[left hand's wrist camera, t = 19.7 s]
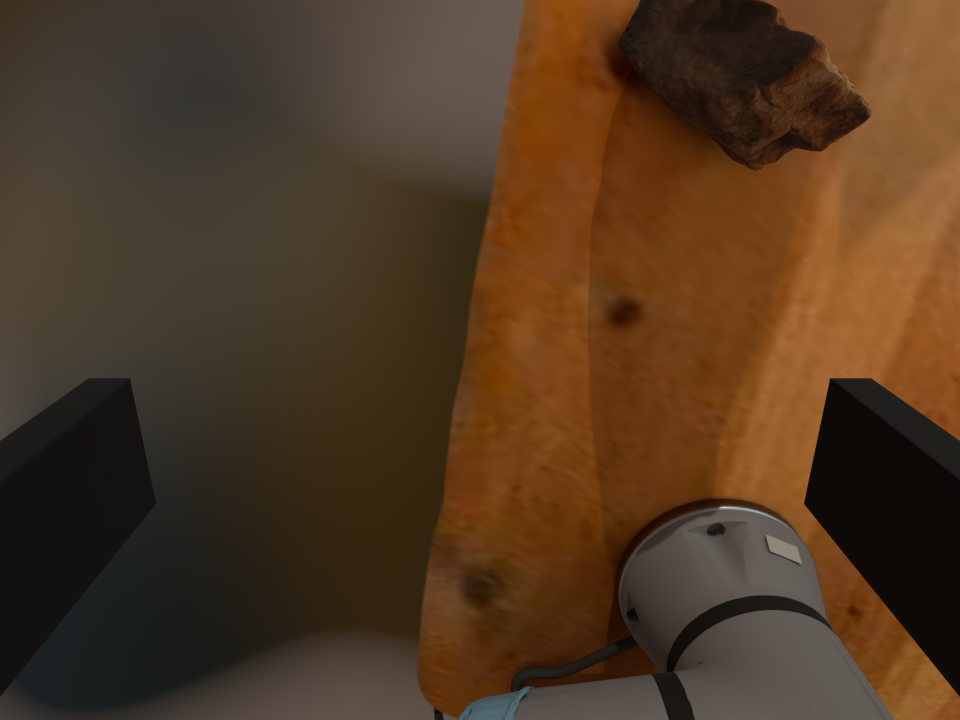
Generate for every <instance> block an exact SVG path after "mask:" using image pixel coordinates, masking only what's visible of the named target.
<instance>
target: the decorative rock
mask: <svg viewBox="0 0 960 720" xmlns="http://www.w3.org/2000/svg"><path fill="white" fill-rule="evenodd" d="M619 47H620V49H621V50H622V51H623V52H624V54H625V56H626V58H627V60H628V61H629V63H630V65H631V66H632V67H633V69H634V70H635V71H636V72H637V73H638V74H639V76H640V77H641V78H642V79H643V80H644V81H645V82H646V84H647V86H648V87H649V88H650V89H651V90H652V91H653V92H654V93H655V94H657V95H659V96H661V97H662V99H663V100H664V102H665V103H666V104H667V105H668V106H669V107H670V108H671V109H672V110H674V111H675V112H676V113H677V114H678V115H679V116H680V117H682V118H683V119H685V120H686V121H688V122H689V123H691V124H692V125H694V126H695V127H696V128H698V129H699V130H700V131H702V132H704V133H706V134H708V135H709V136H711V137H712V138H713V139H714V140H715V141H716V142H717V143H718V144H719V145H720V146H721V148H722V149H723V150H724V151H725V153H726V154H727V155H728V156H730V157H731V158H732V159H733V160H734V161H736V162H738V163H740V164H745V165H746V166H747V167H749V168H751V169H753V170H756V171H757V170H760V169H762V167H763V166H764V165H766V164H770V163H773V162H776V161H777V160H779V159H780V158H781V157H782V156H783V155H784V154H786V153H787V152H789V151H791V150H792V149H794V148H801V149H805V150H810V151H822V150H824V149H826V148H828V146H829V145H830V144H831V143H834V142H836V141H837V140H839V139H840V138H841V137H843V136H844V135H846V134H848V133H849V132H851V131H852V130H854V129H855V128H857V127H859V126H860V125H862V124H863V123H864V122H865V121H866V120H868V119H869V118H870V117H871V113H872V109H871V107H870V106H869V104H868V103H867V102H866V101H865V100H864V99H863V97H862V96H860V95H859V94H858V92H857V90H856V88H855V86H854V85H853V84H851V83H850V82H849V80H848V78H847V76H846V75H845V74H843V73H842V72H840V71H839V70H838V69H837V67H836V66H835V65H833V64H832V63H831V60H830V57H829V54H828V51H827V49H826V47H825V45H824V44H823V43H822V42H821V41H820V40H819V39H818V38H817V37H815V36H812V35H809V34H807V33H804V32H799V31H794V30H791V29H790V28H789V27H788V24H787V22H786V21H785V19H783V18H782V15H781V12H780V10H779V9H777V8H776V7H774V6H772V5H771V4H768V3H766V2H763V1H759V0H640V2H639V5H638V6H637V8H636V10H635V12H634V14H633V16H632V18H631V20H630V22H629V24H628V26H627V28H626V30H625V31H624V33H623V35H622V37H621V40H620V42H619Z"/></svg>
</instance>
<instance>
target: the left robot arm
mask: <svg viewBox="0 0 960 720" xmlns="http://www.w3.org/2000/svg"><path fill="white" fill-rule="evenodd" d="M155 504H156V502H155V497H154V492H153V488H152V483H151V478H150V473H149V468H148V464H147V459H146V454H145V449H144V444H143V439H142V435H141V430H140V425H139V421H138V415H137V411H136V406H135V401H134V396H133V392H132V387H131V382H130V379H129V378H89V379H87V380H86V381H85V382H83V383H82V384H80V385H79V386H77V387H76V388H75V389H73V390H72V391H70V392H69V393H68V394H66V395H65V396H63V397H62V398H60V399H59V400H58V401H56V402H55V403H53V404H52V405H50V406H49V407H48V408H46V409H45V410H43V411H42V412H41V413H39V414H38V415H36V416H35V417H33V418H32V419H31V420H29V421H28V422H26V423H25V424H23V425H22V426H21V427H19V428H18V429H16V430H15V431H14V432H12V433H11V434H9V435H8V436H6V437H5V438H4V439H2V440H1V441H0V696H1V695H2V694H3V693H4V691H5V690H6V689H7V688H8V686H9V685H10V684H11V683H12V681H13V680H14V679H15V678H16V676H17V675H18V674H19V673H20V671H21V670H22V669H23V668H24V667H25V665H26V664H27V663H28V662H29V660H30V659H31V658H32V657H33V655H34V654H35V653H36V652H37V650H38V649H39V648H40V647H41V645H42V644H43V643H44V642H45V641H46V639H47V638H48V637H49V636H50V634H51V633H52V632H53V631H54V629H55V628H56V627H57V626H58V624H59V623H60V622H61V621H62V620H63V618H64V617H65V616H66V615H67V613H68V612H69V611H70V610H71V608H72V607H73V606H74V605H75V603H76V602H77V601H78V600H79V599H80V597H81V596H82V595H83V593H84V592H85V591H86V590H87V589H88V587H89V586H90V585H91V584H92V582H93V581H94V580H95V579H96V577H97V576H98V575H99V574H100V573H101V571H102V570H103V569H104V567H105V566H106V565H107V564H108V563H109V561H110V560H111V559H112V558H113V556H114V555H115V554H116V553H117V551H118V550H119V549H120V548H121V547H122V545H123V544H124V543H125V542H126V540H127V539H128V538H129V537H130V535H131V534H132V533H133V532H134V530H135V529H136V528H137V527H138V526H139V524H140V523H141V522H142V521H143V519H144V518H145V517H146V516H147V514H148V513H149V512H150V511H151V509H152V508H153V507H154V506H155ZM804 504H805V506H806V507H807V508H808V509H809V511H810V512H811V513H812V514H813V516H814V517H815V518H816V519H817V521H818V522H819V523H820V524H821V526H822V527H823V528H824V529H825V530H826V532H827V533H828V534H829V535H830V537H831V538H832V539H833V540H834V542H835V543H836V544H837V545H838V547H839V548H840V549H841V550H842V551H843V553H844V554H845V555H846V556H847V558H848V559H849V560H850V561H851V563H852V564H853V565H854V566H855V568H856V569H857V570H858V571H859V573H860V574H861V575H862V576H863V577H864V579H865V580H866V581H867V582H868V584H869V585H870V586H871V587H872V589H873V590H874V591H875V592H876V594H877V595H878V596H879V597H880V599H881V600H882V601H883V602H884V603H885V605H886V606H887V607H888V608H889V610H890V611H891V612H892V613H893V615H894V616H895V617H896V618H897V620H898V621H899V622H900V623H901V624H902V626H903V627H904V628H905V629H906V631H907V632H908V633H909V634H910V636H911V637H912V638H913V639H914V641H915V642H916V643H917V644H918V646H919V647H920V648H921V649H922V650H923V652H924V653H925V654H926V655H927V657H928V658H929V659H930V660H931V662H932V663H933V664H934V665H935V667H936V668H937V669H938V670H939V671H940V673H941V674H942V675H943V676H944V678H945V679H946V680H947V681H948V683H949V684H950V685H951V686H952V688H953V689H954V690H955V691H956V693H957V694H958V695H959V696H960V441H959V440H958V439H956V438H955V437H954V436H952V435H951V434H949V433H948V432H946V431H945V430H944V429H942V428H941V427H939V426H938V425H937V424H935V423H934V422H932V421H931V420H929V419H928V418H927V417H925V416H924V415H922V414H921V413H919V412H918V411H917V410H915V409H914V408H912V407H911V406H910V405H908V404H907V403H905V402H904V401H902V400H901V399H900V398H898V397H897V396H895V395H894V394H892V393H891V392H890V391H888V390H887V389H885V388H884V387H883V386H881V385H880V384H878V383H877V382H875V381H874V380H873V379H871V378H830V382H829V387H828V391H827V396H826V401H825V406H824V411H823V415H822V420H821V425H820V430H819V435H818V439H817V444H816V449H815V454H814V459H813V463H812V468H811V473H810V478H809V483H808V487H807V492H806V497H805V502H804ZM616 591H617V598H618V602H619V606H620V609H621V613H622V616H623V619H624V621H625V623H626V625H627V627H628V629H629V631H630V633H631V636H629V637H627V638H625V639H622V640H620V641H618V642H616V643H613V644H611V645H609V646H607V647H604V648H602V649H600V650H597V651H595V652H593V653H591V654H589V655H587V656H585V657H582V658H580V659H578V660H576V661H574V662H571V663H569V664H566V665H563V666H559V667H554V668H537V667H535V668H527V669H524V670H522V671H520V672H519V673H518V674H517V675H516V676H515V677H514V678H513V680H512V683H511V691H512V692H511V693H506V694H501V695H495V696H490V697H484V698H480V699H477V700H475V701H474V702H472V703H471V704H469V705H468V706H467V707H466V708H465V709H464V710H463V712H462V713H461V715H460V716H459V718H458V720H894V719H893V717H892V716H891V714H890V713H889V711H888V710H887V708H886V707H885V705H884V704H883V702H882V701H881V699H880V698H879V697H878V695H877V694H876V692H875V691H874V689H873V688H872V686H871V685H870V683H869V682H868V680H867V679H866V678H865V676H864V675H863V673H862V672H861V670H860V669H859V667H858V666H857V664H856V663H855V661H854V660H853V658H852V657H851V656H850V654H849V653H848V651H847V650H846V648H845V647H844V645H843V644H842V642H841V641H840V639H839V638H838V637H837V635H836V634H835V632H834V631H833V629H832V628H831V626H830V625H829V623H828V622H827V619H826V614H825V608H824V603H823V599H822V594H821V590H820V586H819V582H818V575H817V571H816V567H815V564H814V561H813V559H812V557H811V555H810V552H809V550H808V548H807V547H806V545H805V544H804V542H803V541H802V539H801V538H800V536H799V535H798V534H797V532H796V531H795V530H794V529H793V527H792V526H791V525H790V524H789V523H788V522H787V521H786V520H785V519H784V518H782V517H781V516H779V515H778V514H777V513H775V512H773V511H771V510H770V509H767V508H765V507H763V506H760V505H757V504H754V503H751V502H746V501H741V500H733V499H714V500H706V501H700V502H695V503H692V504H688V505H685V506H682V507H680V508H677V509H675V510H673V511H670V512H668V513H666V514H665V515H663V516H661V517H659V518H658V519H656V520H655V521H654V522H652V523H651V524H650V525H648V526H647V527H646V528H645V529H644V530H643V531H642V532H641V533H640V534H639V535H638V536H637V537H636V538H635V539H634V540H633V542H632V543H631V544H630V546H629V547H628V549H627V550H626V552H625V554H624V556H623V558H622V560H621V563H620V566H619V569H618V573H617V580H616ZM638 645H639V646H640V647H641V648H642V649H643V651H644V652H645V653H646V654H647V656H648V657H649V658H650V659H651V661H652V662H653V663H654V664H655V666H656V667H657V668H658V669H659V671H660V672H661V673H659V674H647V675H639V676H631V677H624V678H616V679H609V680H601V681H593V682H586V683H578V684H568V685H559V686H550V687H541V688H535V687H532V686H526V687H524V688H522V689H521V685H522V684H523V682H525V681H527V680H529V679H556V678H562V677H565V676H568V675H571V674H574V673H577V672H579V671H581V670H583V669H586V668H588V667H590V666H592V665H594V664H596V663H598V662H601V661H603V660H605V659H608V658H610V657H612V656H615V655H617V654H619V653H622V652H624V651H626V650H628V649H631V648H633V647H635V646H638ZM434 719H435V720H444V719H443V712H440V711H439V710H437V709H436V708H434Z"/></svg>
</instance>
